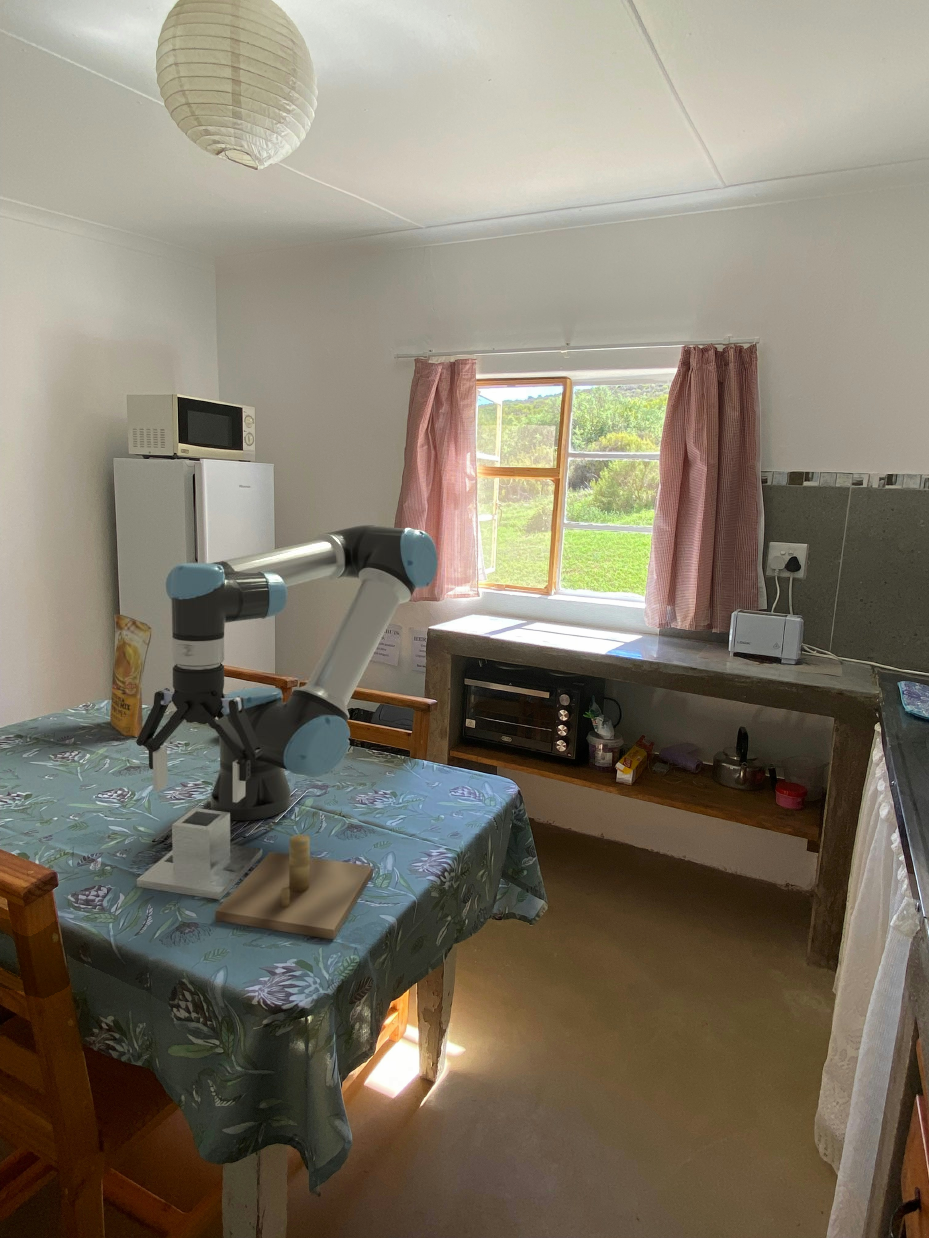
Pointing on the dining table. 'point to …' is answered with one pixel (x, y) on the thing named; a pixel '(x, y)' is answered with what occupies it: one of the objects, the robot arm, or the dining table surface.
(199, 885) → the flange
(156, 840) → the dining table surface
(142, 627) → the pancake mix bag
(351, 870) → the post board
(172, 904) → the dining table surface
